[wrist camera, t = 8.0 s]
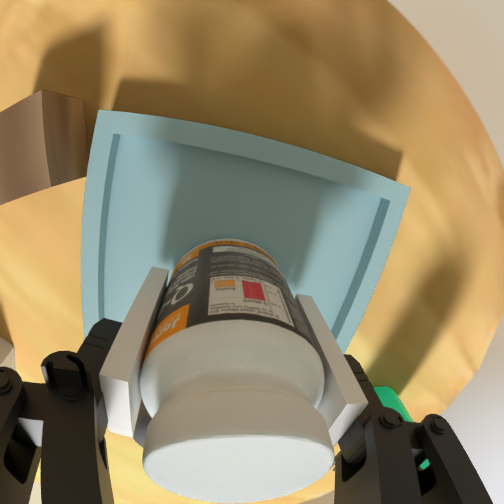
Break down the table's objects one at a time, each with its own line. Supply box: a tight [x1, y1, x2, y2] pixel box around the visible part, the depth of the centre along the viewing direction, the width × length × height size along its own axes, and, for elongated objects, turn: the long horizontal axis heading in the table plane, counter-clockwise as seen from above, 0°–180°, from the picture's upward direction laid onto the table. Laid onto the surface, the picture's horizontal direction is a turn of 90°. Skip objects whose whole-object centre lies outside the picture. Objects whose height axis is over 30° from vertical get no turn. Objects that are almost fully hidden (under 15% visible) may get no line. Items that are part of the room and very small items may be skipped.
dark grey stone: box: [133, 400, 152, 448], centre depth 17 cm, size 5×5×3 cm
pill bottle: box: [140, 238, 335, 503], centre depth 10 cm, size 6×6×10 cm
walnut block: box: [0, 90, 89, 205], centre depth 10 cm, size 4×4×4 cm
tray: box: [81, 110, 411, 354], centre depth 14 cm, size 15×15×2 cm
